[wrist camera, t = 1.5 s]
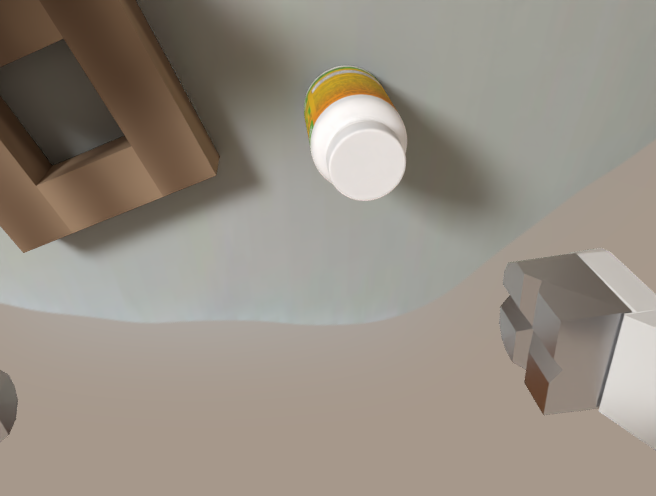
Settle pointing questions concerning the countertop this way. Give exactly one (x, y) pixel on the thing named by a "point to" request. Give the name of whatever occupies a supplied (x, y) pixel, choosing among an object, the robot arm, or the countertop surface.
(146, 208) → the countertop surface
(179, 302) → the countertop surface
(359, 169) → the supplement bottle
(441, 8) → the countertop surface
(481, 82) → the countertop surface
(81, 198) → the socket dock
